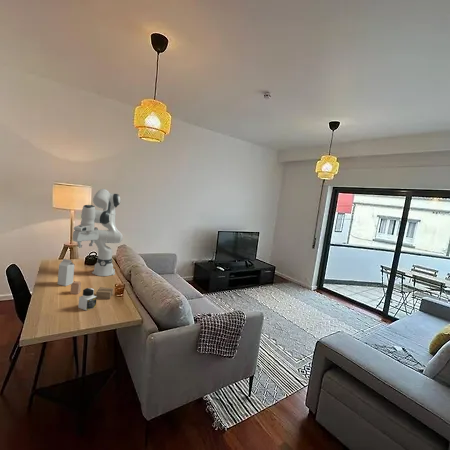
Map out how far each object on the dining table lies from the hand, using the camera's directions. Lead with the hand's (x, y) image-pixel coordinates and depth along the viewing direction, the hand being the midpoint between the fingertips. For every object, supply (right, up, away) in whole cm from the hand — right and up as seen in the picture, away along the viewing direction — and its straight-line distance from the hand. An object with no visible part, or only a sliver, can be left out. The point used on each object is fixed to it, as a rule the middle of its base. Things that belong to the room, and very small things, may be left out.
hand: (85, 246), depth 185 cm
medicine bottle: (+13, -37, -22) cm, 45 cm away
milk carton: (-21, -29, +10) cm, 37 cm away
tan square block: (+15, -35, -2) cm, 38 cm away
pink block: (-5, -32, -3) cm, 33 cm away
